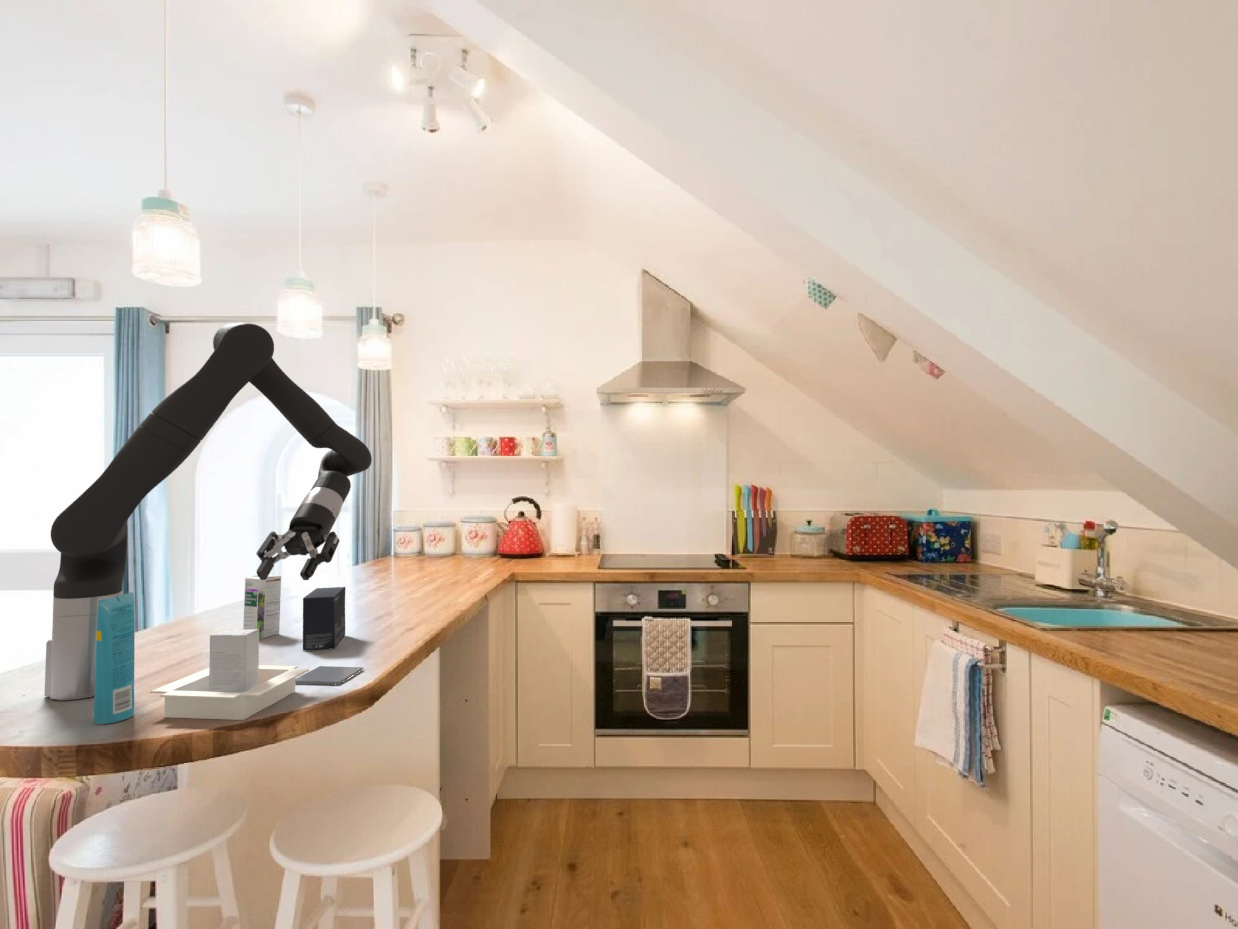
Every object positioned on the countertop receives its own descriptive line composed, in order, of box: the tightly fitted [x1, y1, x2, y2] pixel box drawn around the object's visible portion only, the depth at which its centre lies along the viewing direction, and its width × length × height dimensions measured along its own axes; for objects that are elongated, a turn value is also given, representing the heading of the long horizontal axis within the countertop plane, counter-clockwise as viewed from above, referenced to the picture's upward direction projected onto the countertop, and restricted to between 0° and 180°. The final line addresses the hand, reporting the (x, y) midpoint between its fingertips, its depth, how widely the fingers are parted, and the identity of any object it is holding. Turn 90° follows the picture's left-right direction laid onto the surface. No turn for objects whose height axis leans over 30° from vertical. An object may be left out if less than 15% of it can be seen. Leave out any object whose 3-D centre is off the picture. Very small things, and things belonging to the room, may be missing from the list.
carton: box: [149, 664, 310, 721], centre depth 102 cm, size 18×16×4 cm
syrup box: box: [242, 574, 282, 640], centre depth 148 cm, size 6×6×14 cm
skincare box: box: [208, 629, 260, 693], centre depth 102 cm, size 6×4×12 cm
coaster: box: [295, 665, 364, 686], centre depth 116 cm, size 9×9×1 cm
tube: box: [93, 591, 136, 725], centre depth 95 cm, size 7×5×19 cm, turn 11°
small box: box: [302, 586, 346, 651], centre depth 141 cm, size 13×7×12 cm, turn 15°
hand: (282, 577), depth 114 cm, fingers open, 8 cm apart
